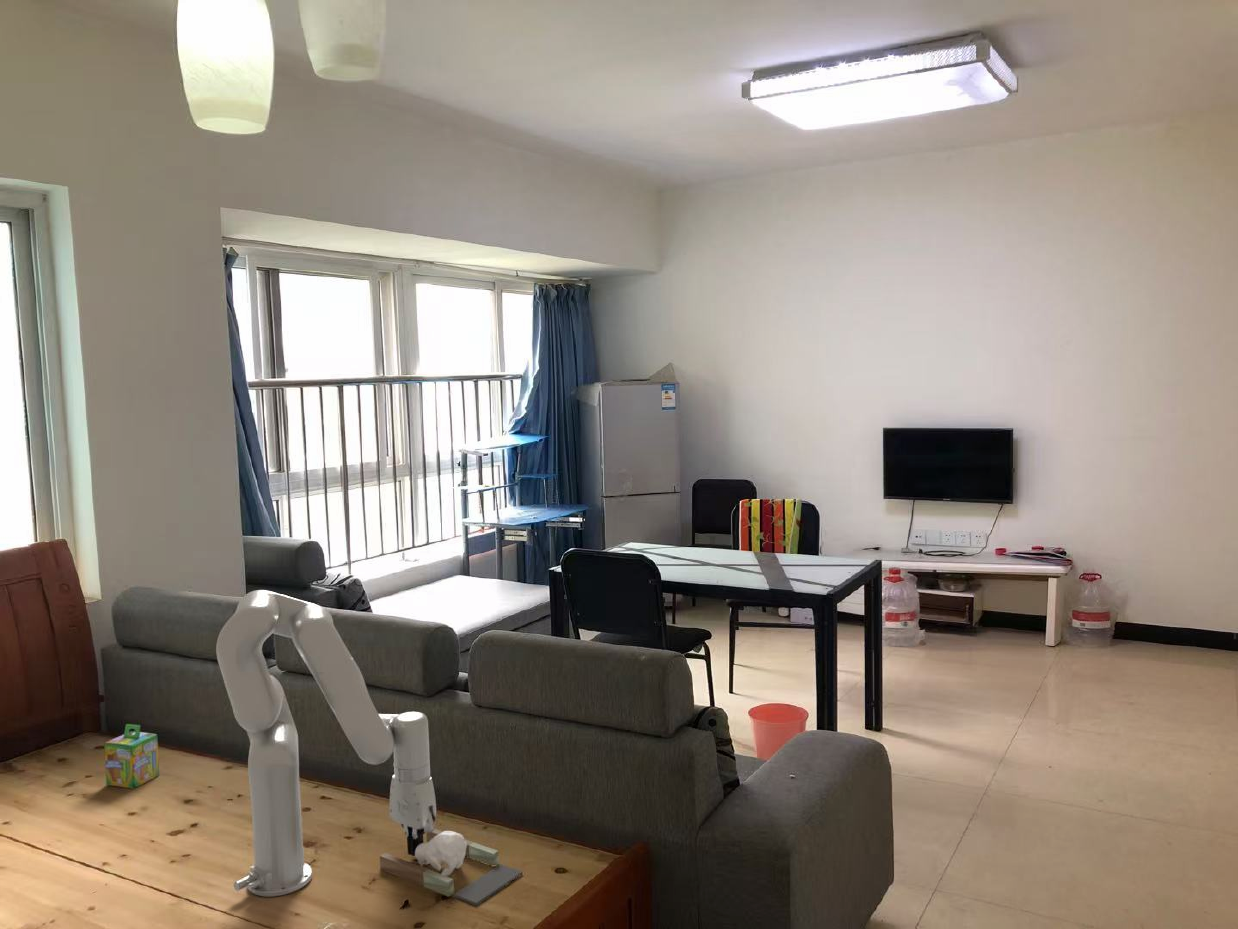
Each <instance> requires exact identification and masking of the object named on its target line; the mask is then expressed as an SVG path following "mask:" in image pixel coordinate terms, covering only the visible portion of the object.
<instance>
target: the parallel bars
mask: <svg viewBox="0 0 1238 929" xmlns="http://www.w3.org/2000/svg"><path fill="white" fill-rule="evenodd" d="M442 832H444V831H442V830H439V829H437V828H434V830H433V831H432V832H430V833H426V843H427V842H429V841H430V840H431V839H433V838H434V837H435V836H436V835H438V834H440V833H442ZM464 839H465V838H464ZM465 841H466V843H467V847H466V853H465V856H466V857H465V858H467V857H469V858H471V859H470V860H472V859H475V860H479V861H481V862H484V863H487V864H489V865H497V864H498V863H499V862H500V858H499V850H497V849H494V848H491V847H488V846H485V845H482V844H480V843H477V842H473V841H471V840H468V839H465ZM469 858H468V859H469ZM475 860H474V861H475ZM499 864H500V863H499ZM489 865H488V866H489ZM379 866H380V867H379V869H380V870H381V871H383V872H386V873H388V874H391V875H394V876H396V877H399V878H401V879H403V880H406V881H409V882H410V883H413V884H416V885H419V886H421V887H423V888H426V889H429V890H431V891H433V892H436V893H439V894H440V895H443V896H446V897H450V896H453V895H454V894H455V888H454V887H455V886H454V884H455V883H454V878H451V877H449V876H444V875H442V874H441V873H439V872H436V871H433V870H431V869H429V868H426V867H424V866H422V867H421V865H418V864H415V863H413V862H410V861H407V860H406V859H402V858H399V857H397V856H394V855H392V854H390V853H386V852H384V853H382V854H380V855H379ZM497 866H498V865H497Z"/></svg>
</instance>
